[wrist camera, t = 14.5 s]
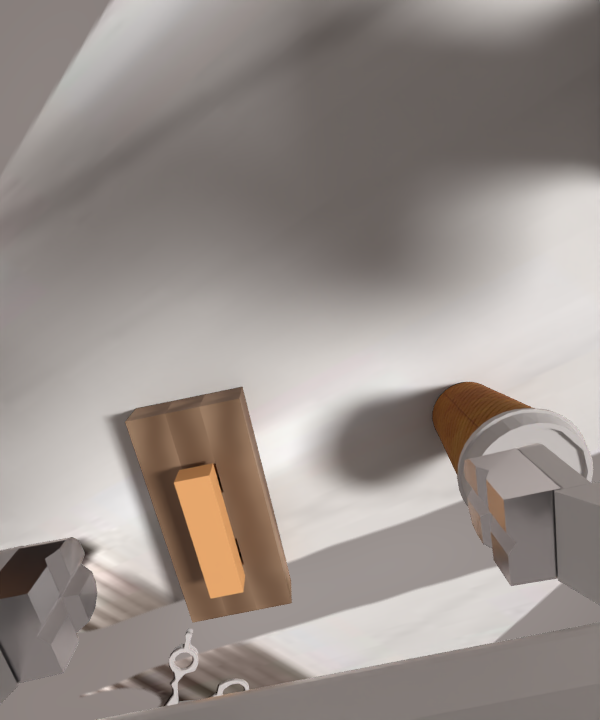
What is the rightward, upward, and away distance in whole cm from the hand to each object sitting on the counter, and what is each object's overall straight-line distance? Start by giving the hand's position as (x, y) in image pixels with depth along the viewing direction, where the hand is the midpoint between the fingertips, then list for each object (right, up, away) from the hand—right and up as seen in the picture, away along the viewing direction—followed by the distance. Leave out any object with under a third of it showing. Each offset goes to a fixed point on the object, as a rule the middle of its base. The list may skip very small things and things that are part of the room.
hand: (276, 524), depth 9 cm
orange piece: (-7, -10, +35) cm, 37 cm away
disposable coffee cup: (+16, -2, +34) cm, 37 cm away
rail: (-8, -10, +35) cm, 37 cm away
